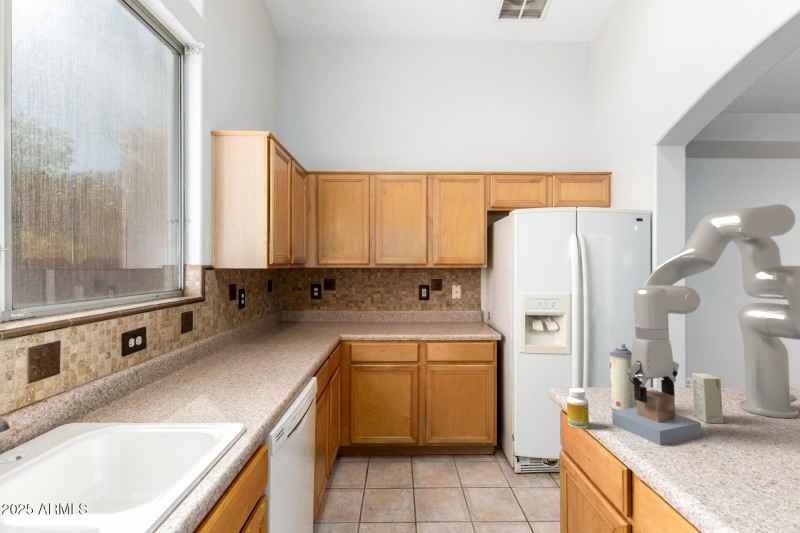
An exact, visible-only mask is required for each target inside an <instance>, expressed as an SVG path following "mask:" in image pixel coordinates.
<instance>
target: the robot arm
mask: <svg viewBox="0 0 800 533" xmlns="http://www.w3.org/2000/svg"><path fill="white" fill-rule="evenodd" d="M795 223H796V214H795V212H794V210H793V209H792V208H791V207H790V206H788V205H786V204H781V203H777V204H774V203H773V204H767V205H762V206H753V207H746V208H745V207H744V208H738V209H731V210H730V209H729V210H723V211H722V210H721V211H716V212H712V213H708V214H706V215H704V216H703V217H702V218H701V219H700V220H699V222H698V223H697V225H696V227H695V229H694V230H693V231H692V233H691V235H690V237H689V238H688V240H687V241H686V243H685V244H684V246H683V248H682V250H681V251H680V252H679V253H677V254H675V255H674V256H672V257H670V258H669V259H668V260H666V261H665V262H664V263H662V264H660V265H659V266H658V267H657V268H655V269H654V270H653V271H652V272H651V273H650V275H648V277H647V279H646V281H645V282H644V284H643V286H642V287H639V288H635V290H634V291H633V304H634V305H633V306H634V307H633V308H634V326H635V327H634V329H635V330H634V332H635V338H634V339H633V341H632V345H631V346H632V347H631V353H632V357H631V367H630V368H629V369H628V370H627V374H628V376H629V380H630V381H631V382H632V384H633V385H634V396H635V400H638V401H640V402H643V403H646V402H647V391H648V389H647V387H646V385H647V382H648V380H654V379H661V378H662V379H661V380H660V384H661V385H660V386H661V392H662V393H666V394H669V395H672V396H675V382H676V381H677V380H676V379H677V378H676V377H677V376H678V371H679V368H680V364H679V363H678V362H676V361H674V357H673V350H672V345H671V341H670V332H669V330H670V328H669V325H670V324H669V314H670V315H671V314H673V315H675V314H677V315H688V314H691V313H694V312H695V311H696V310H698V309H699V306H700V304H701V297H700V294H699V293H698V291H696V289H694V288H692V287H689V286H685V285H674V284H676V283H677V282H679V281H681V280H683V279H685V278H688V277H691V276H695V275H698V274H700V273H703V272H706V271H708V270H711V269H712V268H713V267H715V265H716V264H717V263H718V261H719V259H720V258H721V256H722V254H723V253H724V251H725V249H726V247H727V246H728V244H729V243H730V242H733V243H734V244H735V245H736V247H737V249H738V250H739V252H740V260H741V271H742V272H741V273H742V284H743V285H742V286H743V290H744V292H745V294H747V296H749V297H752V298H756V299H757V298H758V299H769V300H771V299H772V300H787V303H788V304H786V303H785V304H783V303H776V302H775V303H771V302H770V303H769V302H751V303H748V304H745V305H744V306H742V307H741V308H740V309H739V311H738V313H737V314H738V315H737V316H738V317H737V318H738V323H739V326H740V330H741V335H742V339H743V340H742V341H743V353H744V354H743V356H744V358H743V359H744V360H743V362H744V383H745V384H744V385H745V387H744V388H745V399H743V400H740V401H739V402H738V403H739V405H738V406H739V407H740V408H741V409H743V410H745V411H746V412H750V413H753V414H757V415H761V416H765V417H769V418H770V417H771V418H779V419H793V418H796V417H798V416H799V411H798V410H797V409H796V408H794V407H792V406H791V403H793V402H796V401H797V400H798V398H797V396H796V395H794V394H791V393H790V391H791V390H790V367H789V366H790V364H789V352H788V349H787V348H786V346H785V345H786V344H784V343H783V341H782V340H781V339H789V340H796V341H797V340H798V341H800V265H782V261H781V260H782V259H781V251H780V247H779V245H778V244H777V242H776V241H775V240H774V239H773V238H772V237H777V236H778V237H779V236H782V235H785V234H787V233H789V232H790V231H791V230H792V229H793V228H794V226H795ZM640 379H641V380H640ZM675 397H676V396H675Z"/></svg>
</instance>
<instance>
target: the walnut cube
mask: <svg viewBox="0 0 800 533" xmlns="http://www.w3.org/2000/svg"><path fill="white" fill-rule="evenodd" d="M675 397H676V396H672V395H669V394H666V393H662V391H658V390H655V389H650V390H648V389H647V402H646V403H643V402H640V401H638V400H637V415H640V416H642V417H645V418H647V419H650V420H653V421H655V422H658V423H659V422H664V421H669V420H674V419H675V414H676V403H675V401H676V400H675Z"/></svg>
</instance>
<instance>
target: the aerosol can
mask: <svg viewBox="0 0 800 533" xmlns="http://www.w3.org/2000/svg"><path fill="white" fill-rule="evenodd" d="M631 357H632V350H630V349H629V348H627V347H626V344H625V343H618V346H617V347H616V348H615V349H614V350H612V352H610V354H609V366H610V367H609V368H610V369H609V371H610V372H609V373H610V401H611V402H610V406H611V407H610V408H611V410H612V412H614V411H619V410H625V409H631V408H636V407H637V400H635V396H634V385H633V384H632V382H631V381H630V380H629V376H628V374H627V370H628V369H629V368H630V367H631Z"/></svg>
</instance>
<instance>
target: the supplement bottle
mask: <svg viewBox="0 0 800 533" xmlns="http://www.w3.org/2000/svg"><path fill="white" fill-rule="evenodd" d="M568 391H569V392H568V393H569V396H568V397H567V398H566V412H567V415H566V416H567V417H566V418H567V425H569V426H570V427H572V428H575V429H581V430H582V429H587V428H589V426H590V418H589V417H590V415H589V400H588V399H587V398H586V390H584V389H582V388H579V387H572V388H569V389H568Z"/></svg>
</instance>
